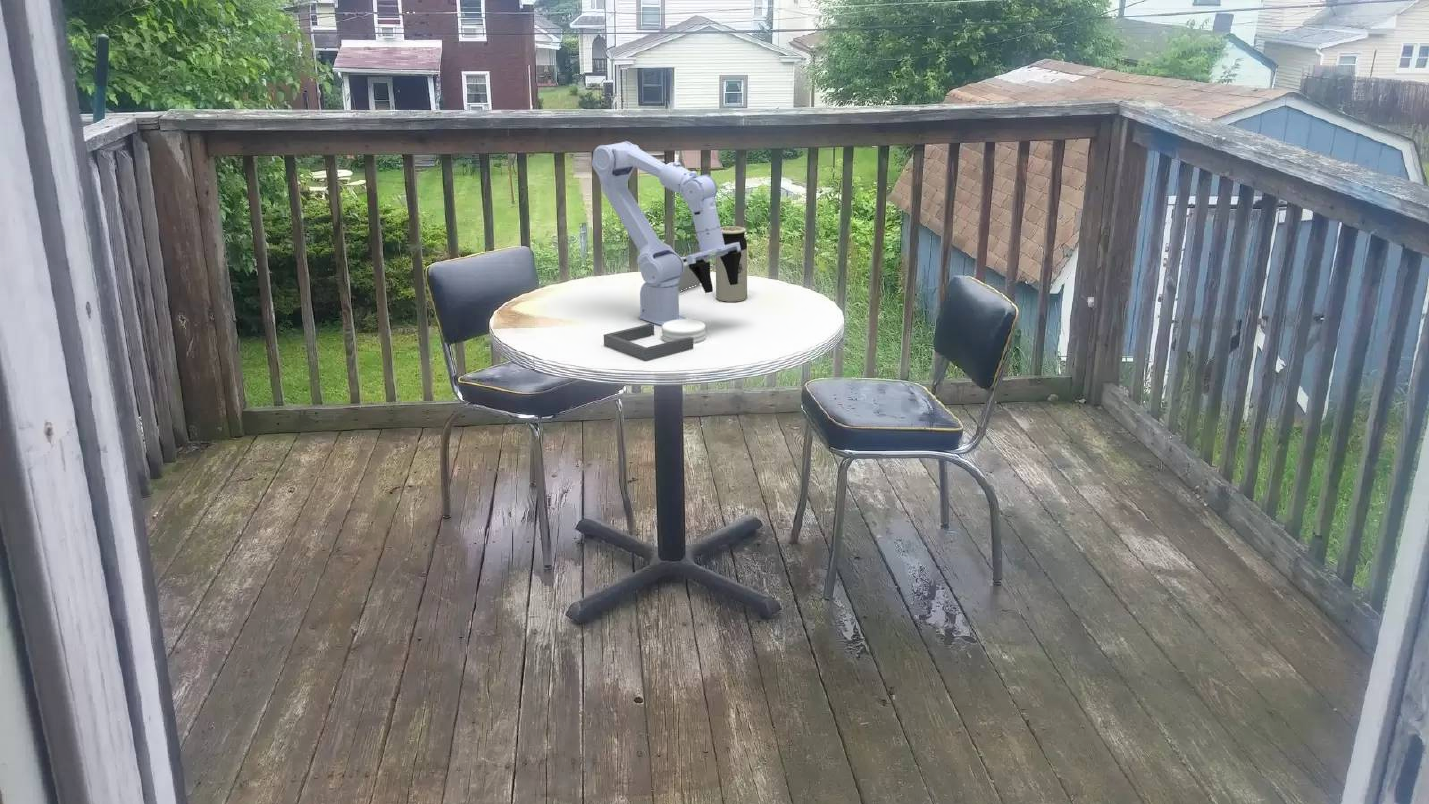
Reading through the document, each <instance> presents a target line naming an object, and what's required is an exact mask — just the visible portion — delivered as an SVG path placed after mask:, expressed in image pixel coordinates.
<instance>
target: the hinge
mask: <svg viewBox="0 0 1429 804" xmlns="http://www.w3.org/2000/svg"><path fill="white" fill-rule="evenodd" d="M680 257H681V258H682V260H683V262H684V272H683V274H682V276H681V277H680V282H678V291H681V290H684V289H686V288H689V287H692V286H695V285H698V286H700V285H701V283H700V281H699V280H698V278H697V277H696V275H695V274H694V273H693V272H692V271H691V270H690V269H689V264H687V259H686V256H680ZM695 287H696V286H695ZM684 291H685V290H684ZM681 292H682V291H681Z"/></svg>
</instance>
